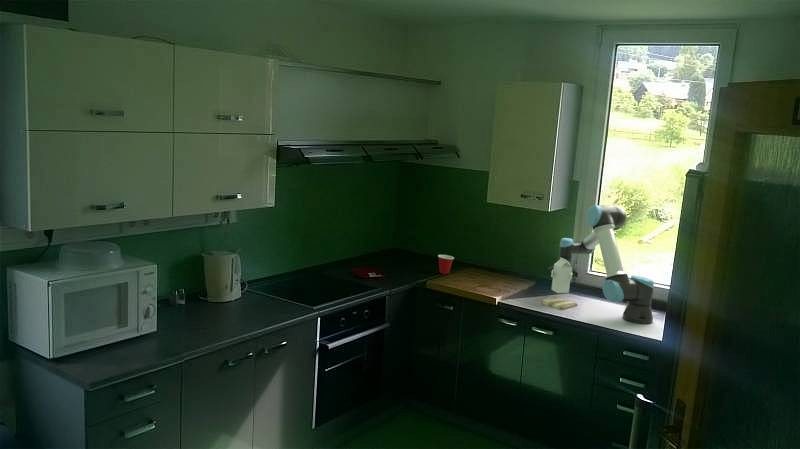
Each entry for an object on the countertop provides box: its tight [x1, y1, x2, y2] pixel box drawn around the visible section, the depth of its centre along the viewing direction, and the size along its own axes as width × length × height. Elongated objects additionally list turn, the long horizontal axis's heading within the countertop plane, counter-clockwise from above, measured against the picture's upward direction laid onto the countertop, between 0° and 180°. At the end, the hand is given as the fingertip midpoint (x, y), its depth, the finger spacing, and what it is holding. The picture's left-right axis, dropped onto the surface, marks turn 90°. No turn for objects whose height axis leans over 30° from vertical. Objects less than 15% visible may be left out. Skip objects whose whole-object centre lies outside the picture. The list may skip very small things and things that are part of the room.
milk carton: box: [551, 257, 573, 294], centre depth 354 cm, size 7×7×19 cm
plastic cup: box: [437, 254, 455, 275], centre depth 412 cm, size 11×11×12 cm
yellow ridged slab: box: [540, 296, 578, 311], centre depth 357 cm, size 15×14×2 cm
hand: (561, 276), depth 350 cm, fingers closed on milk carton, 10 cm apart
